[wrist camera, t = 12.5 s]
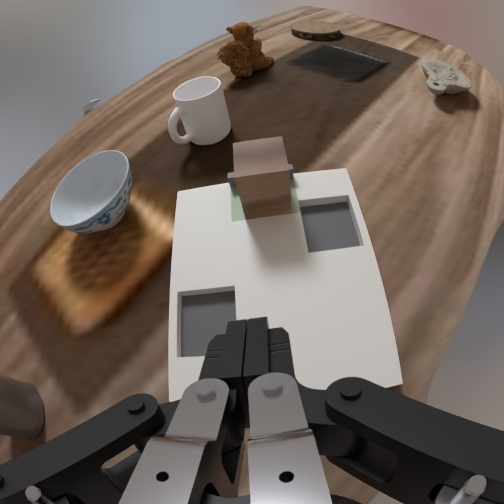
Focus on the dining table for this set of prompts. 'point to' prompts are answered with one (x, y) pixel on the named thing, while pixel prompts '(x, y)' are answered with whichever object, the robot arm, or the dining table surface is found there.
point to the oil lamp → (444, 78)
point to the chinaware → (93, 193)
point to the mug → (200, 112)
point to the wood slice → (315, 30)
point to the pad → (238, 210)
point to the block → (262, 177)
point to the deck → (281, 282)
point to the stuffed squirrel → (243, 51)
